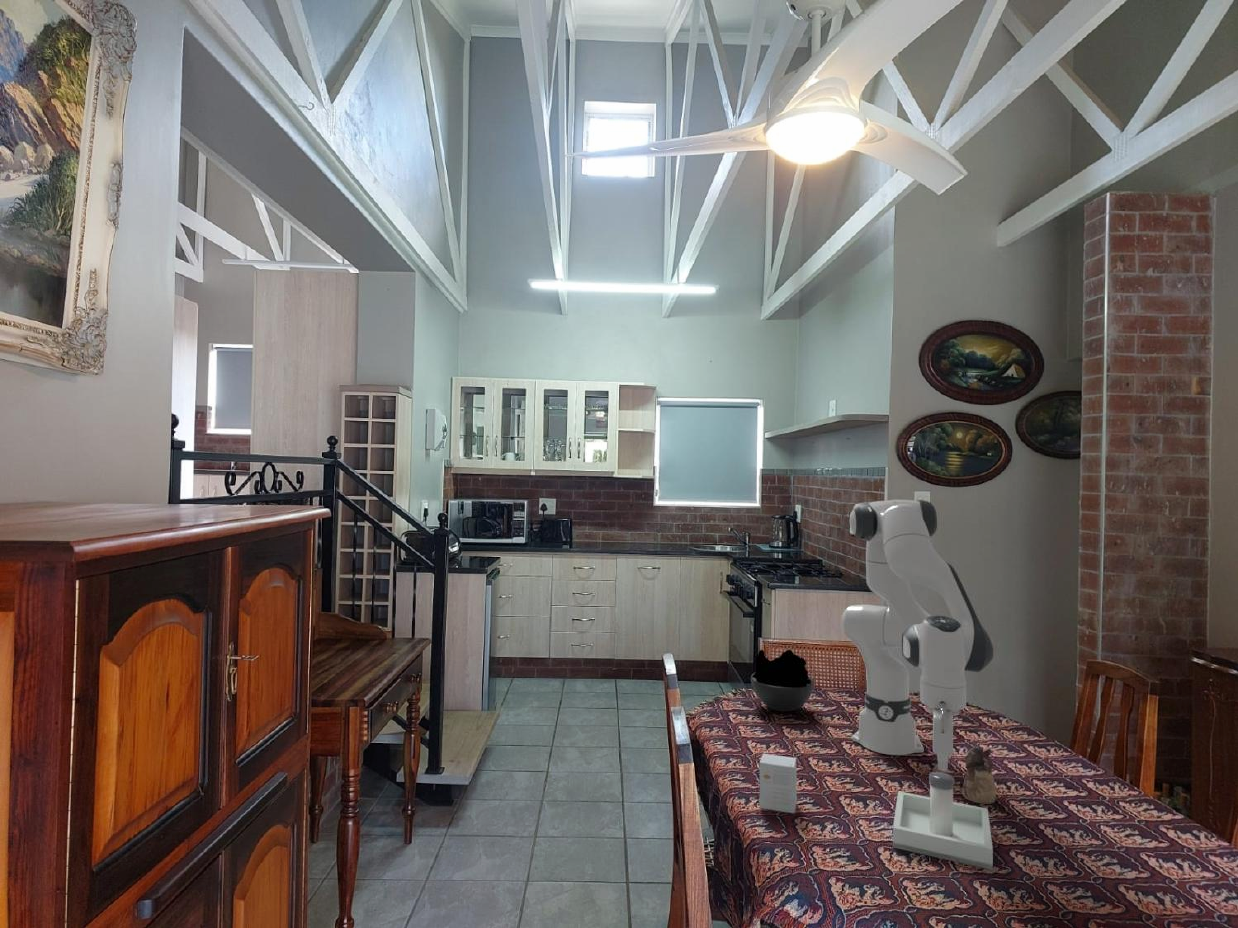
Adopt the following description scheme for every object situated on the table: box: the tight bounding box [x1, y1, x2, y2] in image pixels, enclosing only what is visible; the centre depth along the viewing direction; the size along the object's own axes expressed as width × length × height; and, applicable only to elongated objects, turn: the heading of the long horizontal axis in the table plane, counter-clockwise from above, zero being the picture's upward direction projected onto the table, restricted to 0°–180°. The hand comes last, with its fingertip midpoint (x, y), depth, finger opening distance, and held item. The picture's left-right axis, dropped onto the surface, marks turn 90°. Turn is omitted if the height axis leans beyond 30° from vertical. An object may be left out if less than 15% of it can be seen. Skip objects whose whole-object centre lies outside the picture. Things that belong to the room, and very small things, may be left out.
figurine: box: [961, 745, 997, 805], centre depth 162 cm, size 7×7×12 cm
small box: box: [759, 753, 798, 814], centre depth 157 cm, size 8×6×10 cm
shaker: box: [928, 771, 955, 837], centre depth 144 cm, size 5×5×12 cm
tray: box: [892, 790, 994, 871], centre depth 144 cm, size 18×18×4 cm
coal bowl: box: [750, 649, 815, 712], centre depth 221 cm, size 20×20×19 cm
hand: (942, 760), depth 145 cm, fingers open, 8 cm apart
